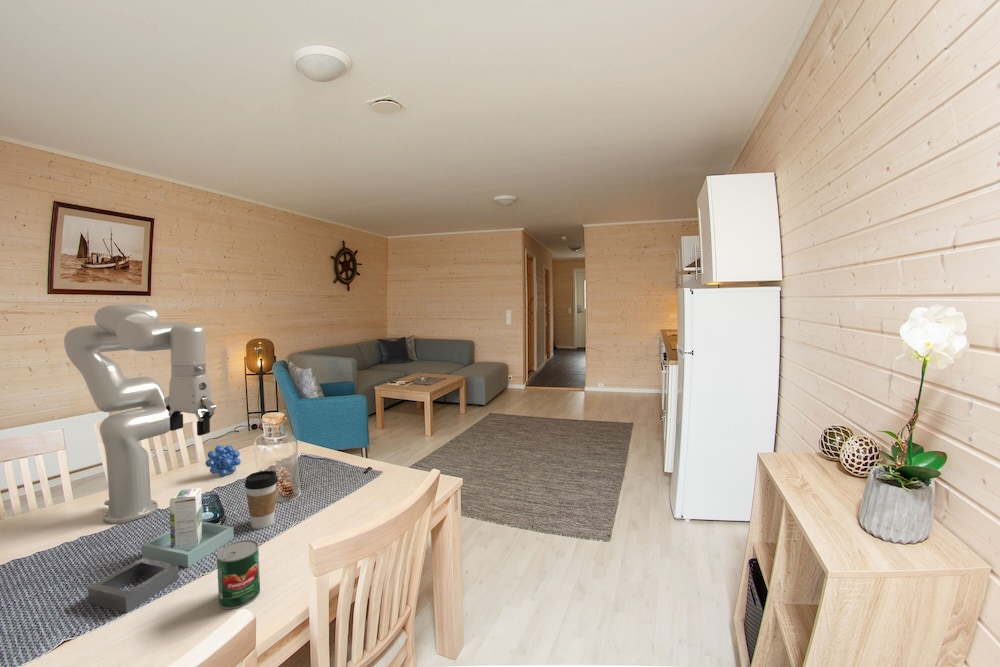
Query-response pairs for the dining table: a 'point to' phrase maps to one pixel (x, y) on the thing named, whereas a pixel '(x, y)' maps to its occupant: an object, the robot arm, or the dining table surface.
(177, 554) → the tray
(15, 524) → the dining table surface
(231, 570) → the canned tomato
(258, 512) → the coffee cup
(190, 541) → the syrup box
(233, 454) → the grapes
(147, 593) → the collar
